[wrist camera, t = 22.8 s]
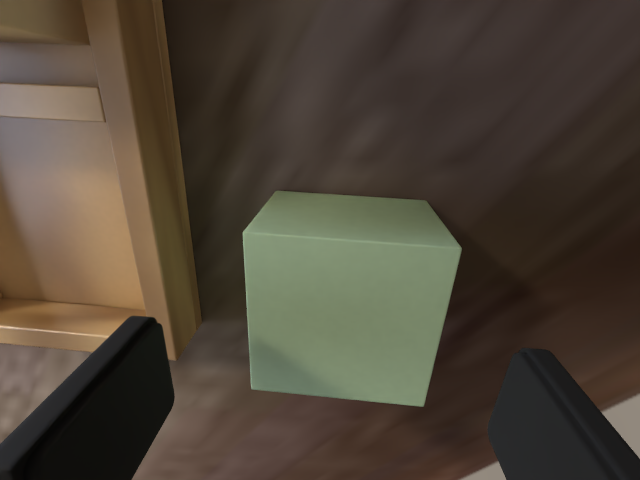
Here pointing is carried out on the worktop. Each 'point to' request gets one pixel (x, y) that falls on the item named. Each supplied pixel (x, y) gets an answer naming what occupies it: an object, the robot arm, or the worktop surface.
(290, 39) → the worktop surface
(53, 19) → the tan block
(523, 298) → the worktop surface
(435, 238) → the green block
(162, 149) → the divided wooden tray
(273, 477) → the worktop surface
